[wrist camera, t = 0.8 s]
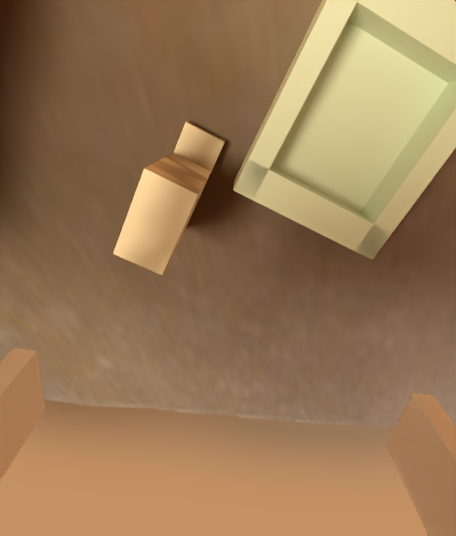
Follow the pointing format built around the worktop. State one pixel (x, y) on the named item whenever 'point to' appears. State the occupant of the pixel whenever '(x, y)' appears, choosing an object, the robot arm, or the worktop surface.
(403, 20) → the well block
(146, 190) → the wooden stepped block
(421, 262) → the worktop surface
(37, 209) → the worktop surface
